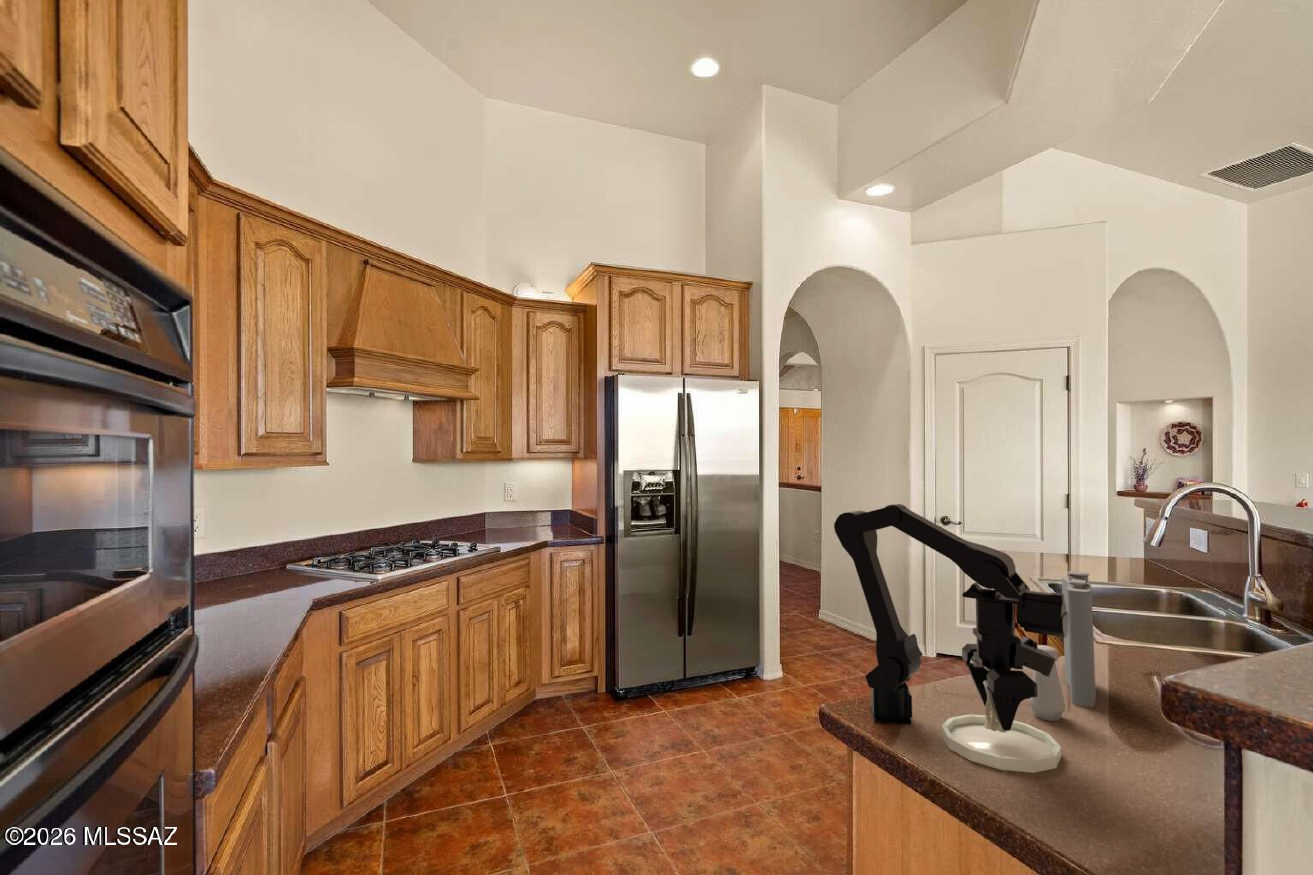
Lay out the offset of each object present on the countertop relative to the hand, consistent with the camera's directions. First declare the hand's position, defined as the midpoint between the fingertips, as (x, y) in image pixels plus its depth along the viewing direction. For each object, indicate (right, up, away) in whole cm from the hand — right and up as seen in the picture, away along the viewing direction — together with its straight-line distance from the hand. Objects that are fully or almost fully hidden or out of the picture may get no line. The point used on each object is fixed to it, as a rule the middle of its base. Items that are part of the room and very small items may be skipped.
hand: (997, 719), depth 103 cm
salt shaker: (+16, -5, +12) cm, 20 cm away
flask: (+31, -6, +24) cm, 39 cm away
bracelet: (0, -2, 0) cm, 2 cm away
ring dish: (0, -4, 0) cm, 4 cm away
